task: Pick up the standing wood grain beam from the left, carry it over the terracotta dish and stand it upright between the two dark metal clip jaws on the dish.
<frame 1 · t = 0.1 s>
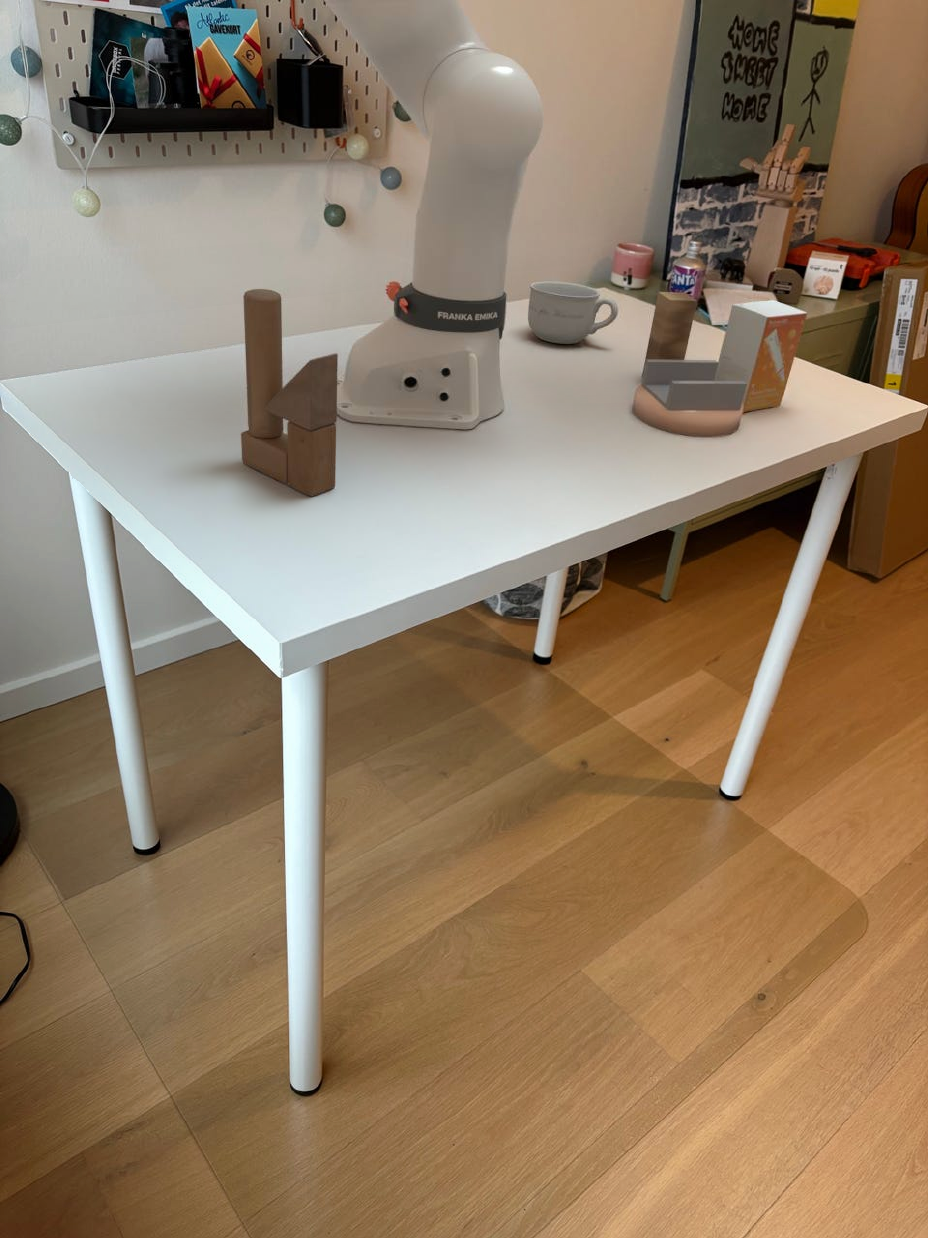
teacup: (566, 342, 149), on the table
wooden block: (288, 477, 100), on the table
small box: (744, 403, 132), on the table
wood grain beam: (659, 381, 136), on the table
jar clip: (685, 415, 125), on the table
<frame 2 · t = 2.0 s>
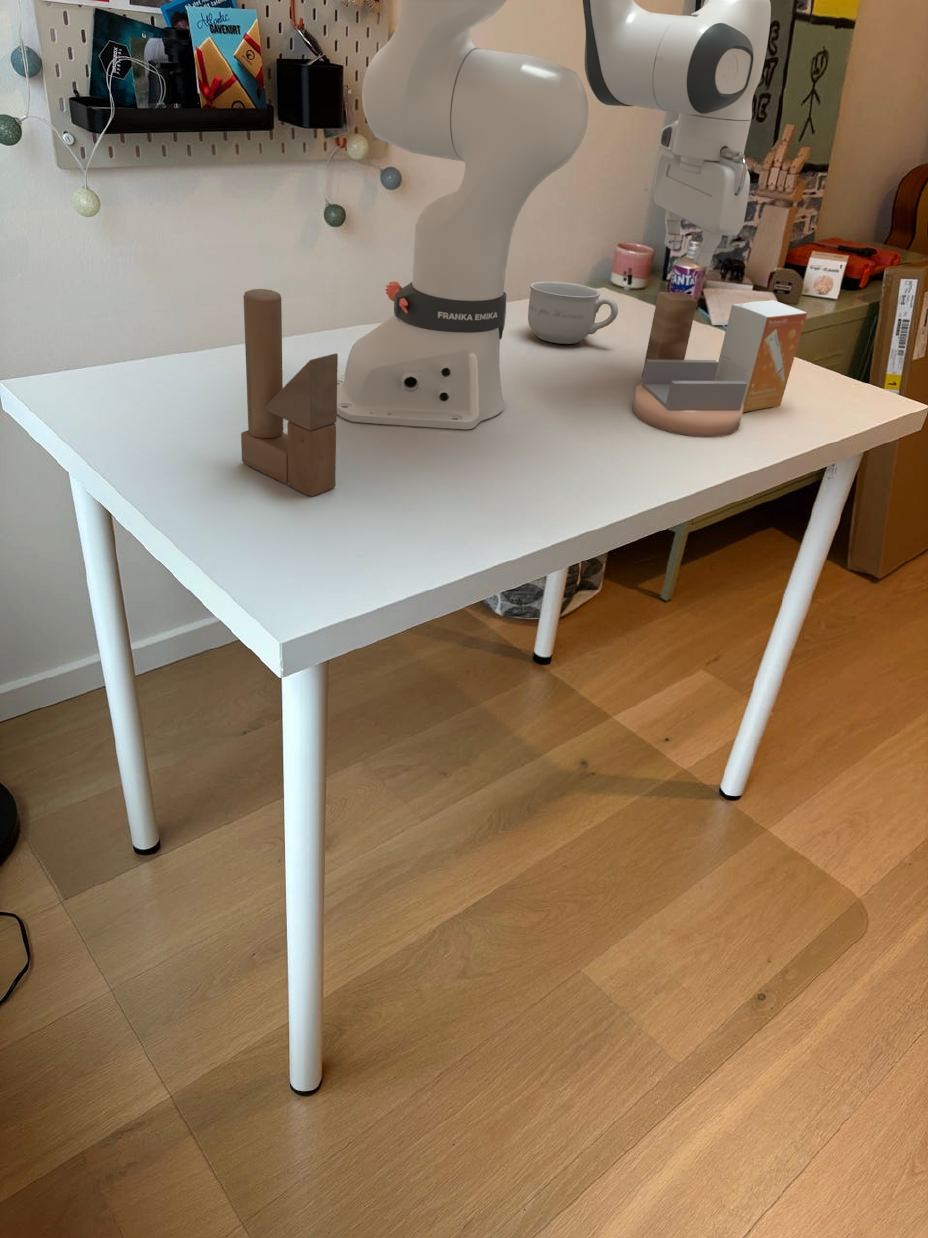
hand: (685, 256, 127), 17 cm above the table, tool pointing down, fingers open, 8 cm apart
nothing on the table moved.
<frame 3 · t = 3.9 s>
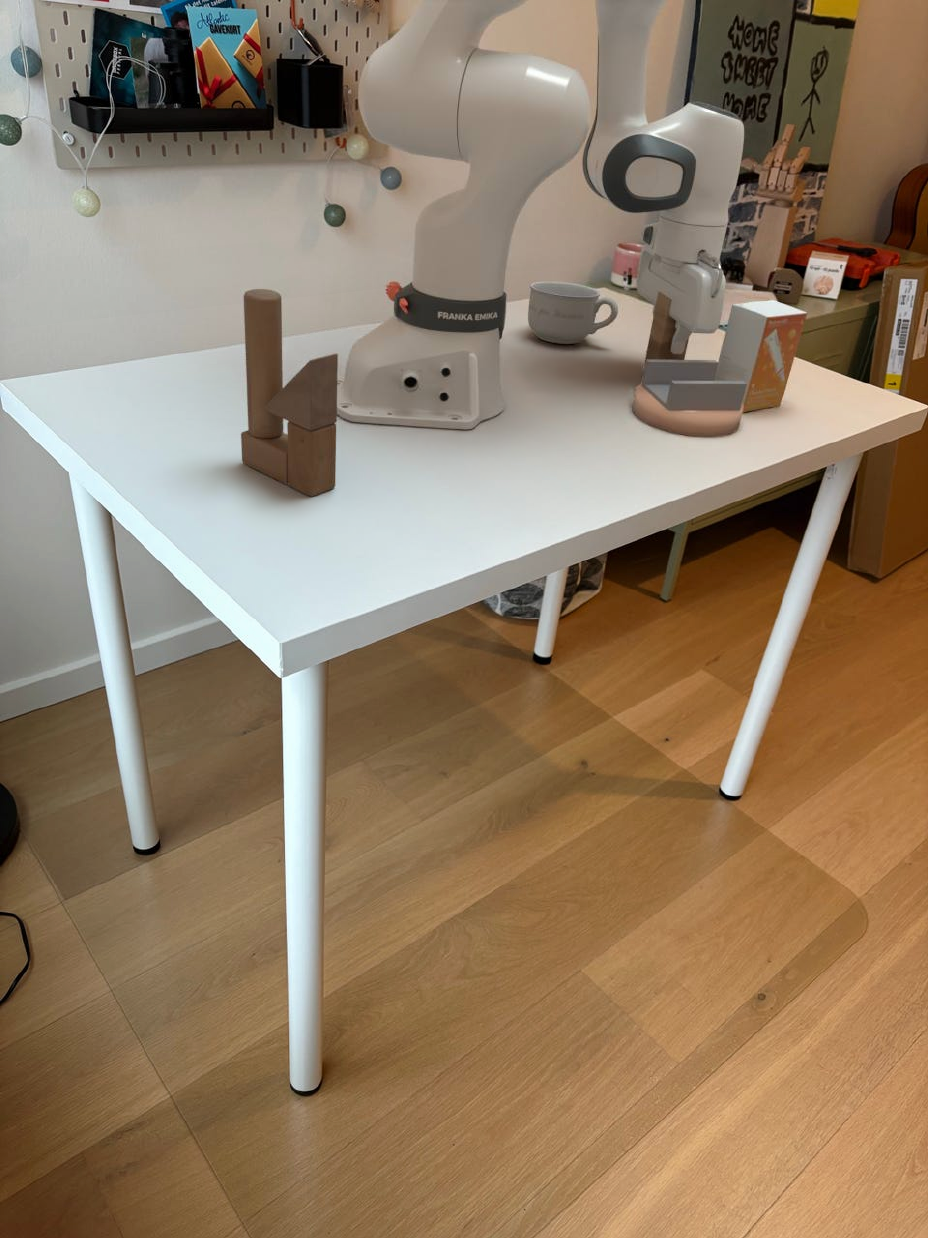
hand: (667, 345, 134), 5 cm above the table, tool pointing down, fingers closed on wood grain beam, 4 cm apart
wood grain beam: (659, 381, 136), on the table, touching gripper
everything else where it was.
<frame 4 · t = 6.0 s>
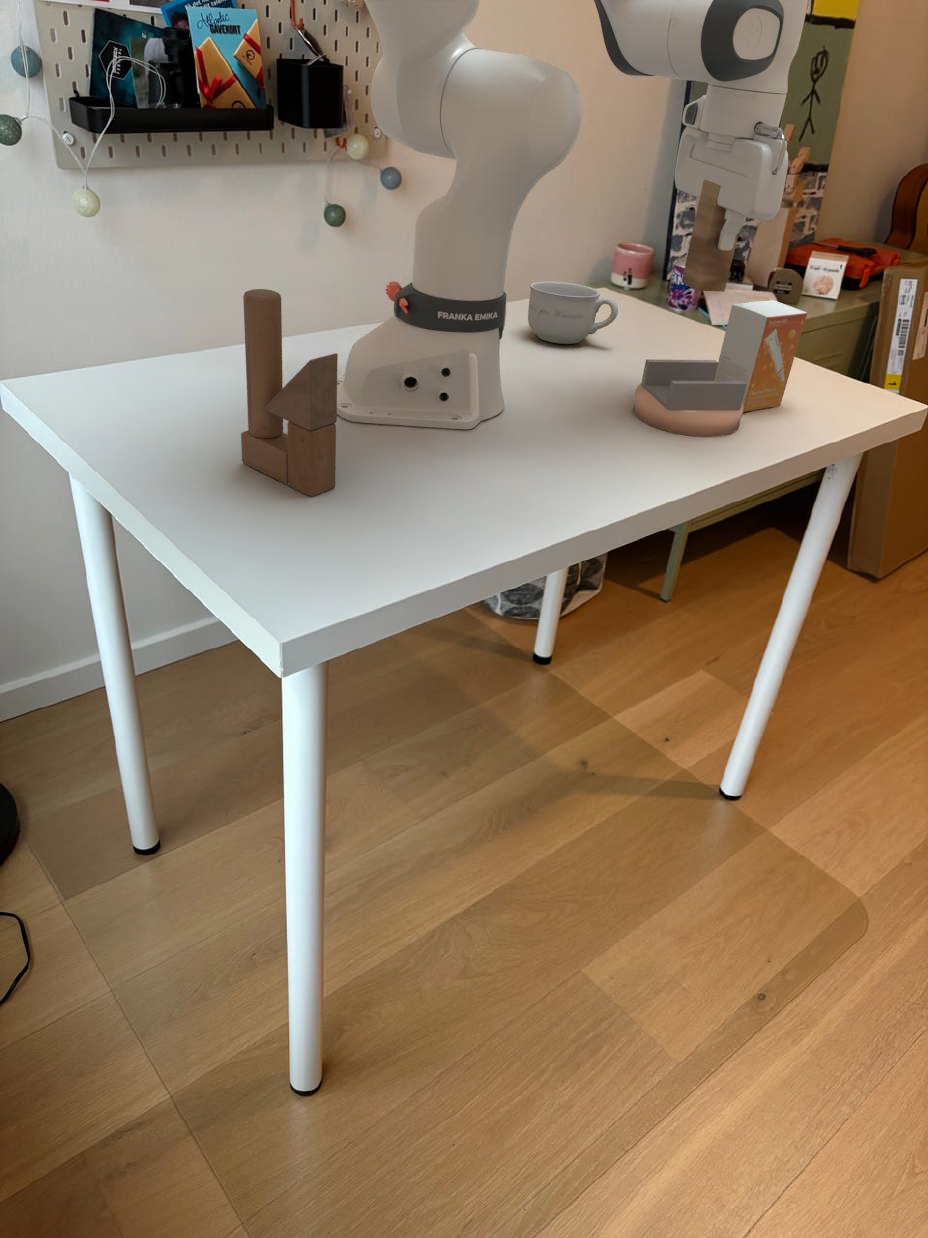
hand: (712, 243, 117), 21 cm above the table, tool pointing down, fingers closed on wood grain beam, 4 cm apart
wood grain beam: (702, 286, 120), point 16 cm above the table, touching gripper
everything else where it was.
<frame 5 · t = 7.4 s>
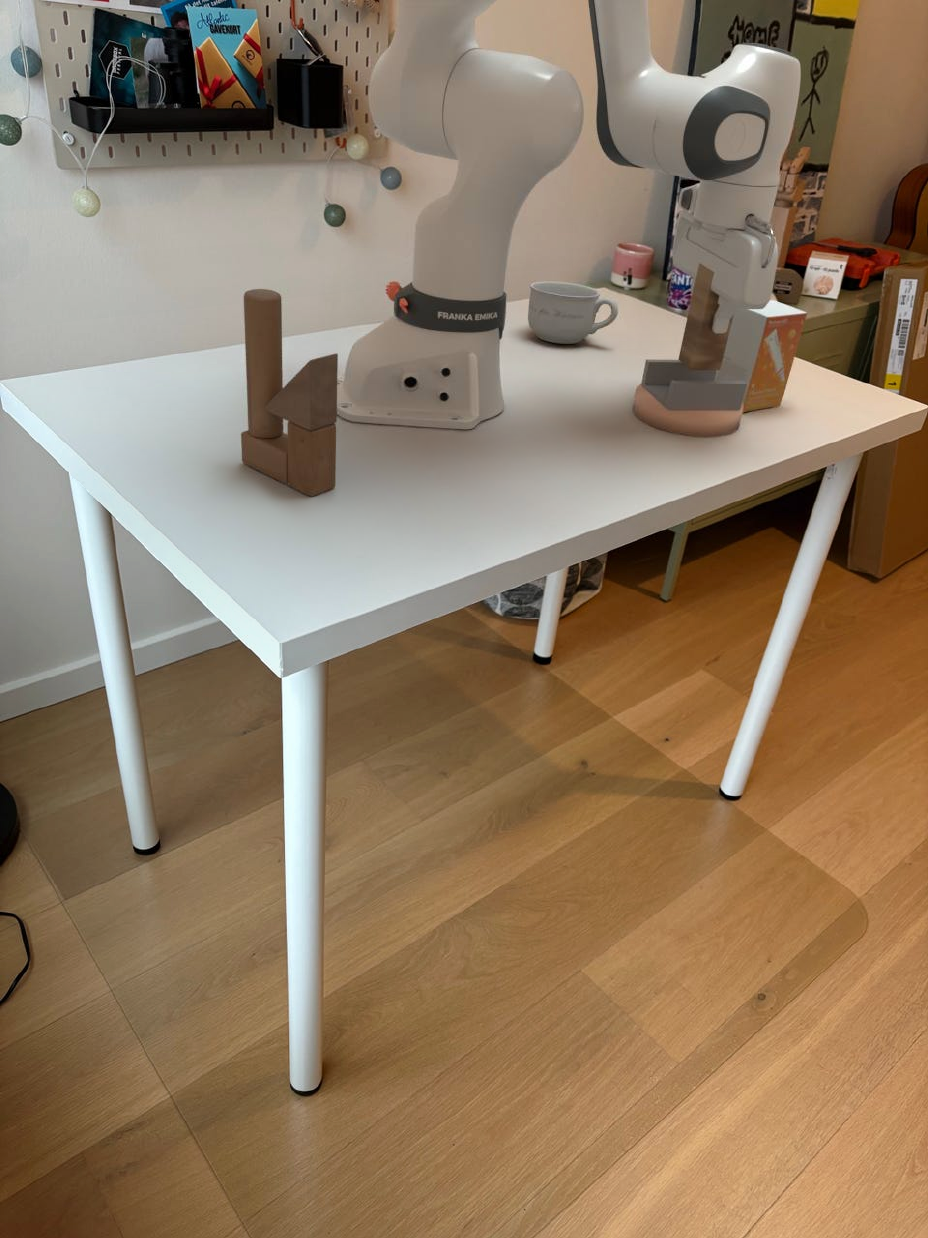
hand: (707, 324, 119), 12 cm above the table, tool pointing down, fingers closed on wood grain beam, 4 cm apart
wood grain beam: (699, 364, 122), point 7 cm above the table, touching gripper
everything else where it was.
when the fingers open (9 cm above the table, at t = 8.1 s): wood grain beam stays where it is, resting on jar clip.
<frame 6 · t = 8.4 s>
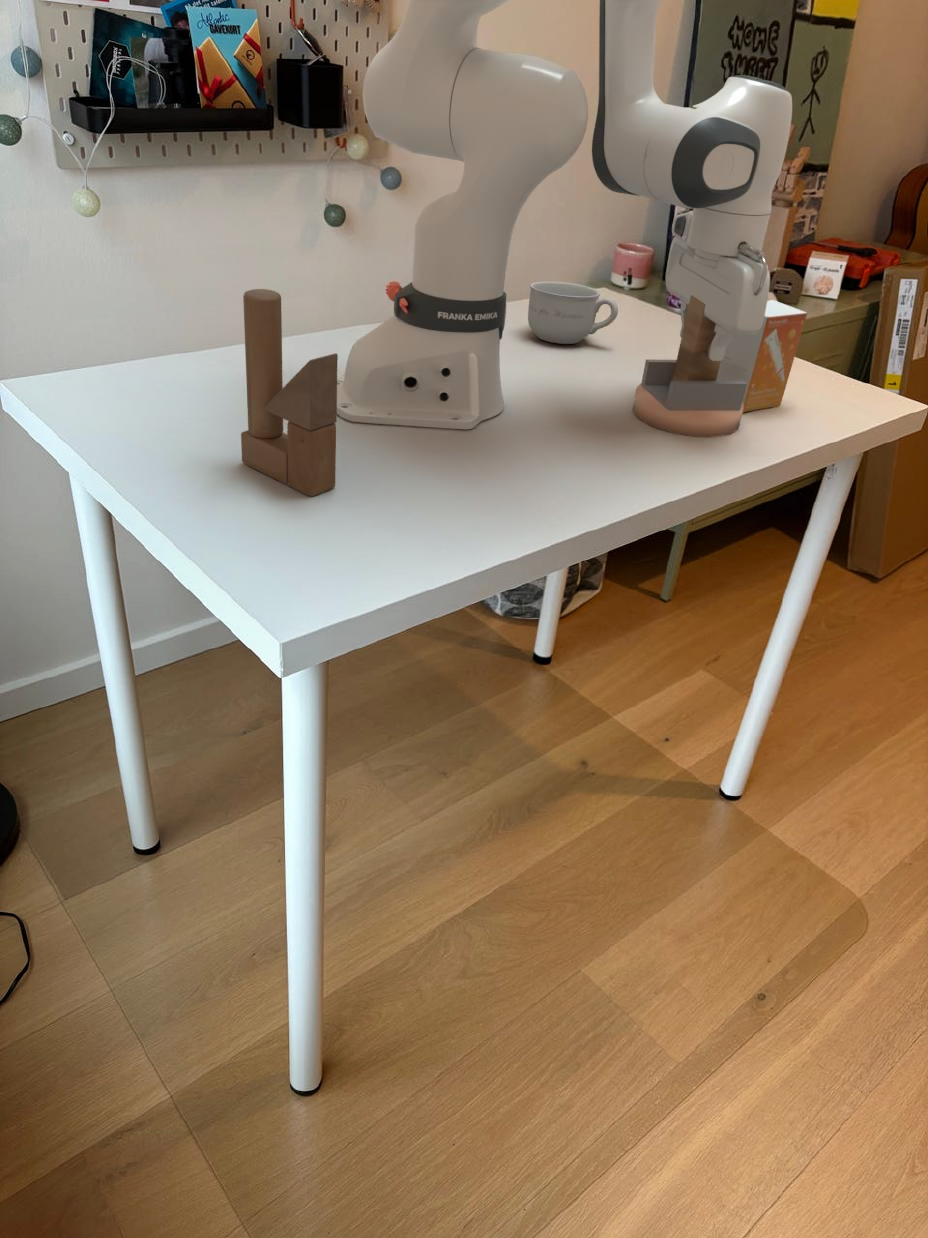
hand: (700, 348, 121), 9 cm above the table, tool pointing down, fingers open, 6 cm apart
wood grain beam: (690, 393, 124), point 3 cm above the table, touching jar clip
everything else where it was.
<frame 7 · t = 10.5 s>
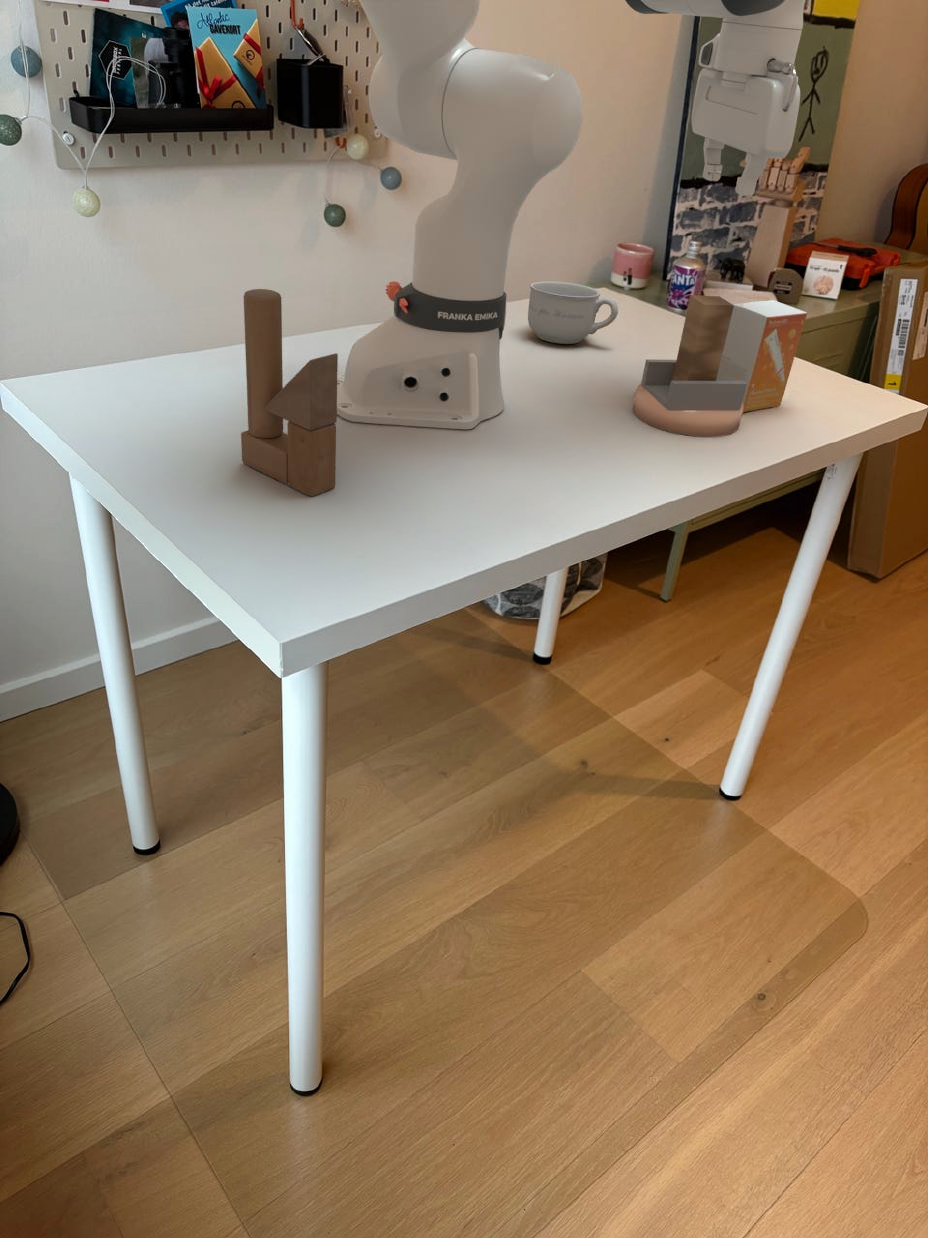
hand: (726, 187, 116), 27 cm above the table, tool pointing down, fingers open, 8 cm apart
nothing on the table moved.
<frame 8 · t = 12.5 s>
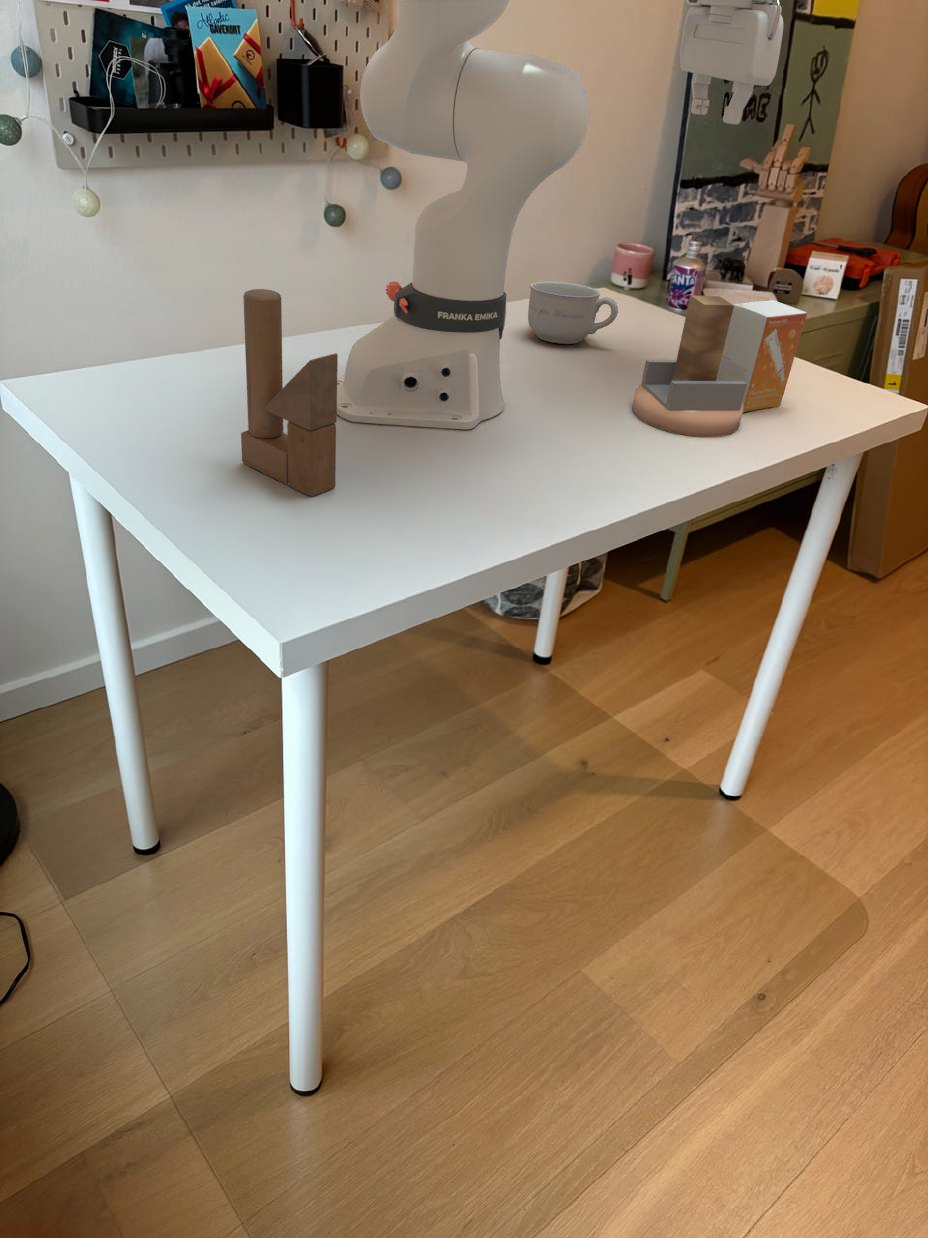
hand: (714, 118, 124), 33 cm above the table, tool pointing down, fingers open, 8 cm apart
nothing on the table moved.
at the end: wood grain beam 0.1 cm from the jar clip (horizontally); wood grain beam tilted 0°; wood grain beam point 3.0 cm above the table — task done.
